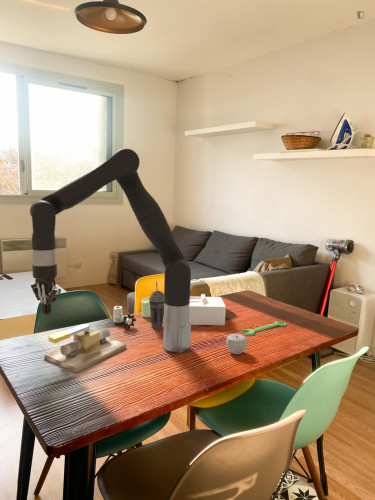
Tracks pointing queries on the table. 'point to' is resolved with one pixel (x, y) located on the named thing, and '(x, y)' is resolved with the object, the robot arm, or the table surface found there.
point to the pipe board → (85, 358)
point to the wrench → (263, 328)
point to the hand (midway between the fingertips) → (46, 313)
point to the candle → (146, 307)
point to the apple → (236, 343)
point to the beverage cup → (156, 308)
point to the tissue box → (207, 310)
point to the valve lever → (68, 333)
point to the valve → (122, 317)
